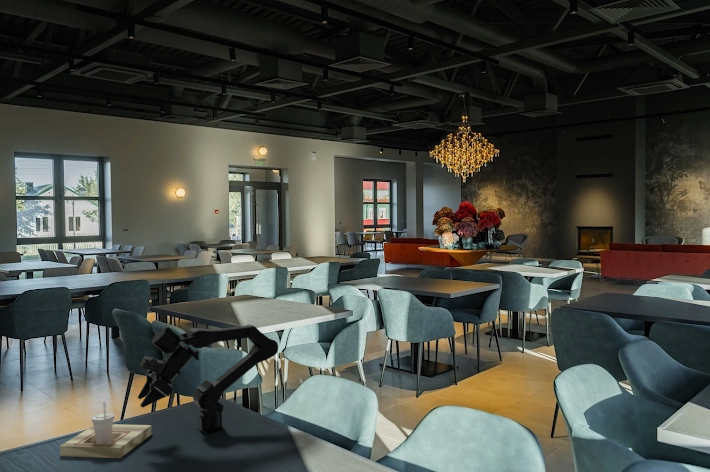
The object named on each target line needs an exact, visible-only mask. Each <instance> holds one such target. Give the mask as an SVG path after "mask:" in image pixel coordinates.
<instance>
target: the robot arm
mask: <svg viewBox="0 0 710 472" xmlns="http://www.w3.org/2000/svg"><path fill="white" fill-rule="evenodd" d="M242 339H248V340H250V342H251V343H253V345H252V346H251V348H250V350H249V352H248V353H247V354H246V355H245V356H243V357H242V358H241V359H239V360H238V361H237V362H236V363H235V364H233V365H232V366H231V367H230V368H228V369H227V370H226V371H225V372H223V373H222V374H221V375H220V376H219V377H218V378H216V379H215V380H211V381H209V380H208V379H205V380H204V381H203V382H202V383H201V384H200V385H198V386H196V387H195V388H196V389H195V391H194V392H193V393H192V394H193V395H192V400H193V402H194V403H195V404H196V406H198V407H199V409H200V411H199V416H198V429H199V430H200V431H201V432H203V433H204V434H206V435H207V434H211V433H215V432H219V431H223V430H225V426H223V414H222V413H223V410H224V405H223V404H222V403H221V402H219V401H220V400H221V398H222V396H223V394H224V392H225V391H226V390H228V388H230V387H231V386H232V385H234V384H235V383H237V381H238V380H239V379H241V377H243V376H244V375H245V374H246V373H248V372H249V371H251V370H252V368H254V367H255V366H257V364H260V363H262V362H264V361H268V360H269V359H270V358H272V357H274V356H276V355H277V354H278V352H279V344H278V342H277V341H276V340H274V339H271V338H269V337H268V336H267V335H265V334H264V333H262V331H260V330H259V328H257V326H254V325H252V324H247V325H241V326H233V327H232V326H231V327H226V328H216V329H213V328H212V329H210V328H205V327H204V328H203V327H202V328H201V327H191V328H189V329H188V330H187V332H184V333H179V334H176V333H175V332H174V331H173V330H172V328H170V327H169V326H165V327H164V328H163V329H161V330H160V331H158V332H156V334H155V335H154V336H153V337H152V339H151V342H150V343H151V344H152V345H153V346H154V347H156V349H159V350H160V352H162V353H163V354H165V355H167V354H169V356H167V358H166V357H165V358H163V359H162V360H159V359H157V358H154V357H150V356H146V355H144V356H143V359H142V360H141V362H140V368H141V369H143V370H146V372H147V373H145V375H146V376H145V377H146V381H145V383H144V384H143V386H142V388H141V390H140V393H139V394H138V395H137V398H138V399H139V400H142V399H143V398H144V399H143V400H142V402H141V403H140V404H139V406H140V407H141V408H145V407H147V406H149V405H151V404H153V403H155V402H157V401H160V400H161V399H164V398H166V397H169V396H171V394H172V393H173V391H174V390H173V386H172V384H173V382H172V381H173V380H174V379H175V378H176V376H177V375H181V374H182V369H183V368H185V366H186V365H187V364H188V363H189V362H190V360H192V359H193V358H194V359H195V360H196V361H199V360H200V357H199V356H200V355H199V353H200V351H199V350H197V349H203V348H206V347H210V346H211V345H214V344H215V343H221V342H226V341H234V340H242ZM181 343H182V344H181ZM183 344H184V345H185V346H184V345H183ZM190 346H191V347H190ZM192 347H193V348H195V350H194V349H193V348H192Z"/></svg>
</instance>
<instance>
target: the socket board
mask: <svg viewBox="0 0 710 472" xmlns="http://www.w3.org/2000/svg"><path fill="white" fill-rule="evenodd" d="M152 432H153V431H152V425H149V424H117V423H116V424H114V423H113V428H112V439H111V442H110V443H109V444H97V443H96V437H95V432H94V426H93V425H92V426H91V427H89V428H87V429H86V430H84V431H82V432H81V433H79V434H77V435H75V436H74V437H73V438H71V439H69V440H68V441H66V442H64V443H62V444H61V445H59V454H60V455H59V456H60V457H75V458H76V457H80V458H107V459H121V458H123V457H124V456H125V455H127V454H128V453H129V452H131V451H132V450H133V449H134V448H136V447H137V446H138V445H140V444H141V443H142V442H144V441H145V440H146V439H148V438H149V437H151V436H152V434H153V433H152Z"/></svg>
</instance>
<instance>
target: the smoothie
mask: <svg viewBox="0 0 710 472" xmlns="http://www.w3.org/2000/svg"><path fill="white" fill-rule="evenodd" d="M102 405H103V413H99V414H95V415H94V416H92V417H91V422H92V426H94V432H95V437H96V444H109V443H110V442H111V439H112V428H113V424H114V420H115V414H114V413H111V412H106V411H107V409H106V401H103V403H102Z"/></svg>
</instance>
